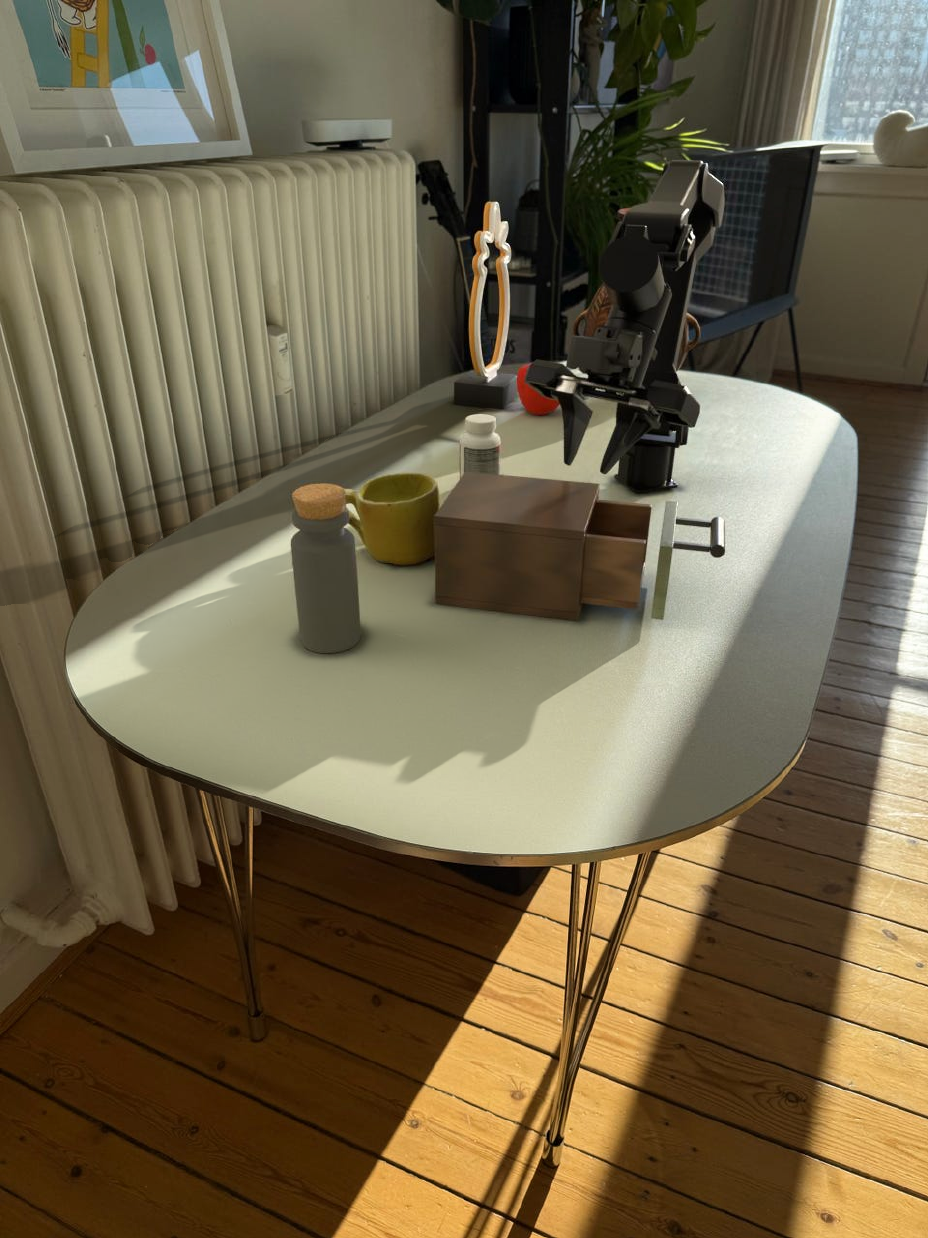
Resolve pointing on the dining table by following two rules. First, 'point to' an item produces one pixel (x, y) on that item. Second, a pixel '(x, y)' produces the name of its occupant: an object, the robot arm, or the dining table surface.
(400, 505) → the mug
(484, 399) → the white statuette
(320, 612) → the bottle
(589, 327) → the vase
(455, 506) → the cabinet
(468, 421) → the pill bottle
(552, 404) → the apple
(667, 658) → the dining table surface
